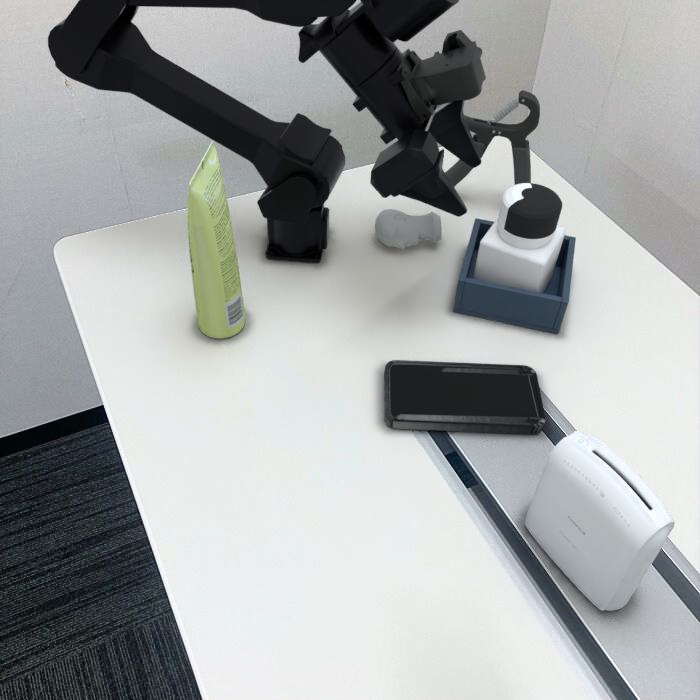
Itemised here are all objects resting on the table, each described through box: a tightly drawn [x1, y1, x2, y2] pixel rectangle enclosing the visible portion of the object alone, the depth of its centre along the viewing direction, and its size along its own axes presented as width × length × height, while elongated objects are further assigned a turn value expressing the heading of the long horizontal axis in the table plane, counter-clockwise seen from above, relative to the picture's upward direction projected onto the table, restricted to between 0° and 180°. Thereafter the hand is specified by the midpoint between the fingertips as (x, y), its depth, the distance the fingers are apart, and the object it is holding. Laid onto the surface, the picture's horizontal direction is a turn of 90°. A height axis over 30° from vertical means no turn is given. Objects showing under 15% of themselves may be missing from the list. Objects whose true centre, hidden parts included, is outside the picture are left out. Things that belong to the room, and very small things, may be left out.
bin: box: [452, 217, 577, 335], centre depth 83 cm, size 11×11×5 cm
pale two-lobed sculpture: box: [374, 208, 443, 250], centre depth 89 cm, size 4×8×5 cm
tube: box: [186, 139, 246, 339], centre depth 73 cm, size 6×5×20 cm
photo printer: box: [524, 430, 676, 612], centre depth 57 cm, size 10×4×12 cm, turn 32°
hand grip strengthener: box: [444, 90, 541, 188], centre depth 91 cm, size 2×12×15 cm, turn 79°
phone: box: [383, 359, 546, 435], centre depth 73 cm, size 8×1×15 cm
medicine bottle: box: [473, 182, 566, 293], centre depth 80 cm, size 7×7×12 cm
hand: (470, 188), depth 77 cm, fingers open, 9 cm apart
